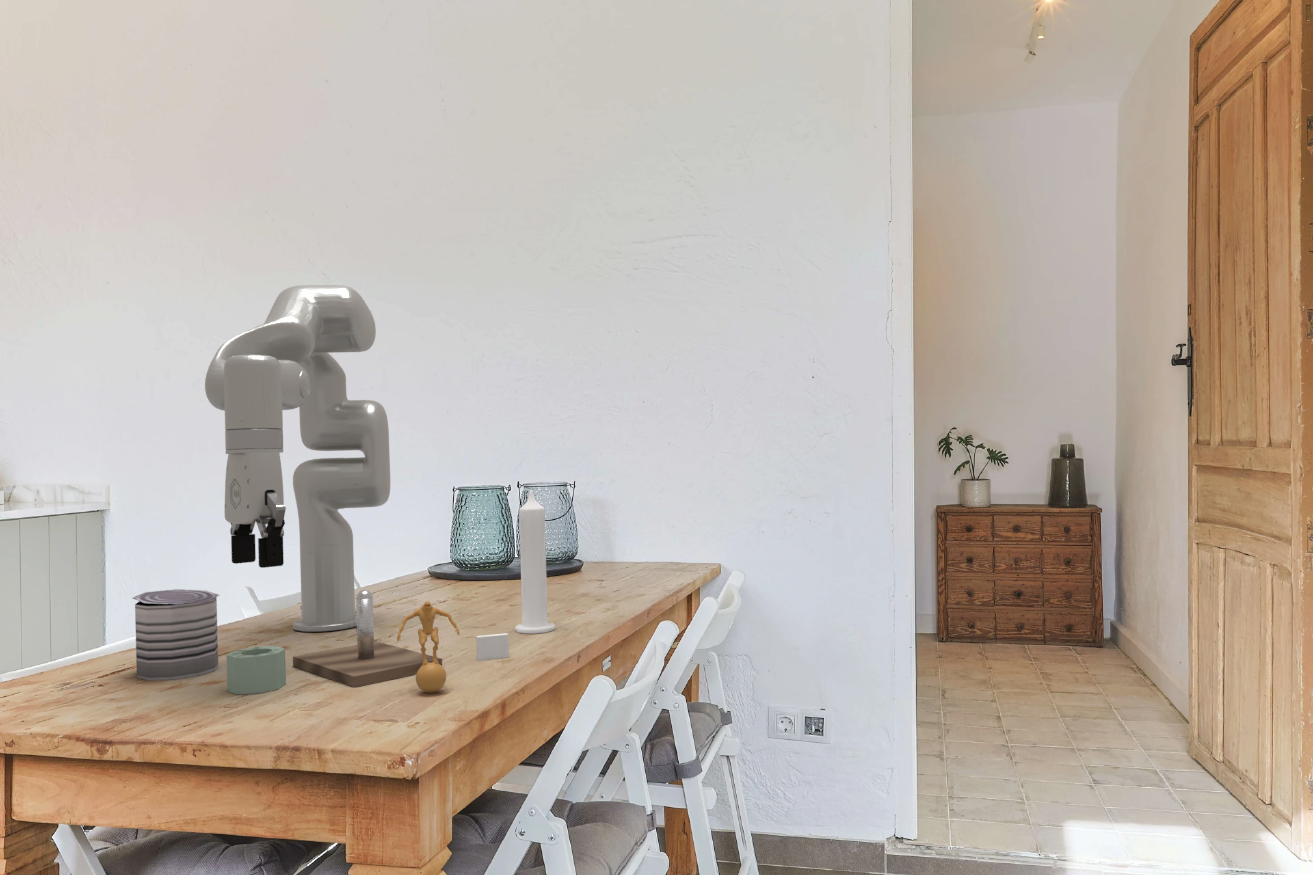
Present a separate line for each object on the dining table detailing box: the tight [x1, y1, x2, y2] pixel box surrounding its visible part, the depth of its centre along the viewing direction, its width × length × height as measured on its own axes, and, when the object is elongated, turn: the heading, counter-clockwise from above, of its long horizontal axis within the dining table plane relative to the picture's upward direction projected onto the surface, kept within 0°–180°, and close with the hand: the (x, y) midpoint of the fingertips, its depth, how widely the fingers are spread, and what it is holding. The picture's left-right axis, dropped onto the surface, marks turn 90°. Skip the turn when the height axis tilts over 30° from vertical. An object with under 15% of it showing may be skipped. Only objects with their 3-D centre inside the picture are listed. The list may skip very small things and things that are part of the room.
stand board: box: [292, 641, 443, 688], centre depth 144 cm, size 20×14×2 cm
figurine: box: [396, 600, 460, 694], centre depth 129 cm, size 8×6×12 cm
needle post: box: [355, 589, 375, 659], centre depth 144 cm, size 2×2×10 cm
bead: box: [226, 645, 287, 695], centre depth 133 cm, size 7×7×5 cm
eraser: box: [475, 632, 510, 662], centre depth 148 cm, size 1×5×4 cm, turn 109°
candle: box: [514, 489, 556, 635], centre depth 170 cm, size 7×7×25 cm
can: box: [132, 588, 220, 682], centre depth 145 cm, size 11×11×12 cm
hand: (257, 564), depth 134 cm, fingers open, 9 cm apart
